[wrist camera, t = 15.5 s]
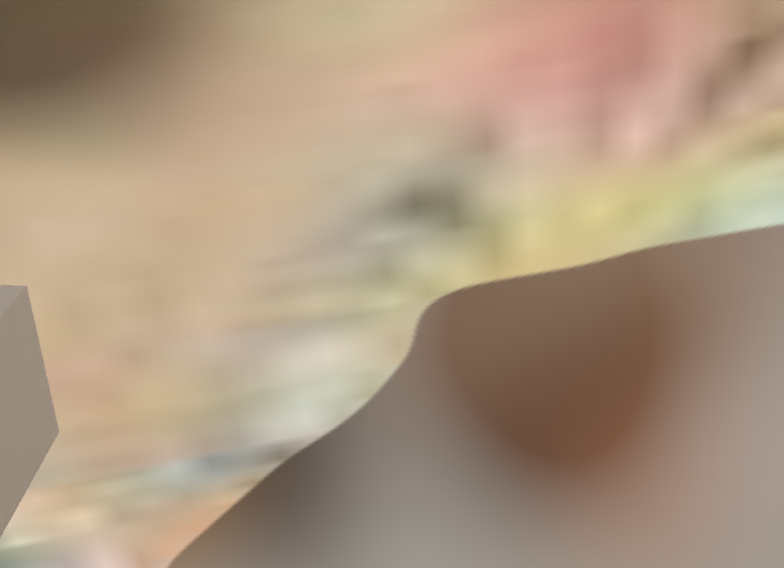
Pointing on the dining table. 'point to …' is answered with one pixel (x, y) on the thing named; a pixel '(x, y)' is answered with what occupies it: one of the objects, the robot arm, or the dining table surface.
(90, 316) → the dining table surface
